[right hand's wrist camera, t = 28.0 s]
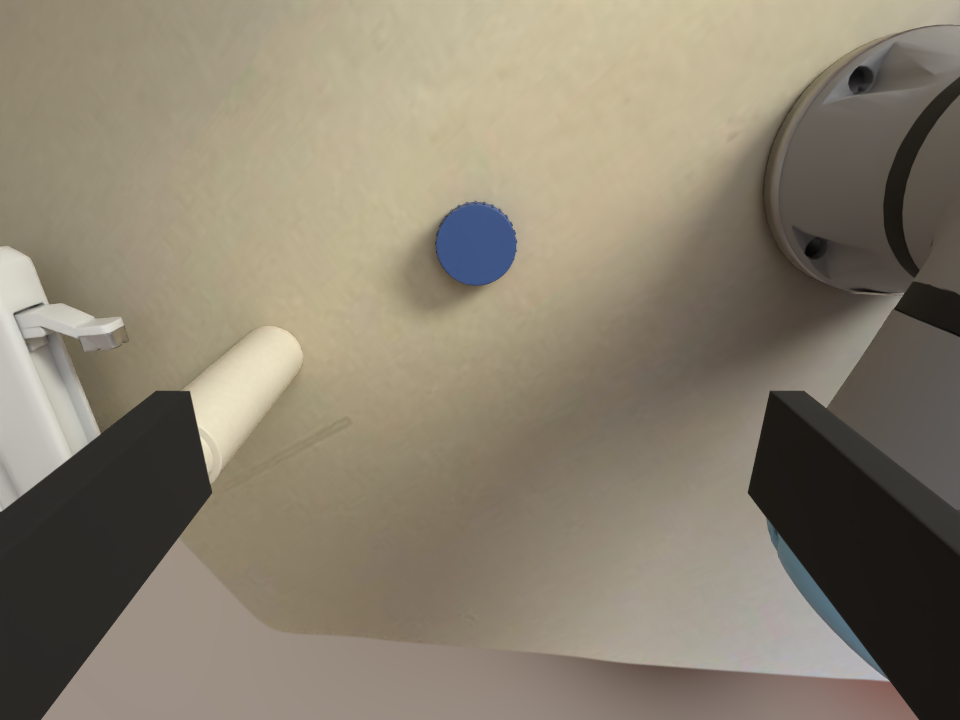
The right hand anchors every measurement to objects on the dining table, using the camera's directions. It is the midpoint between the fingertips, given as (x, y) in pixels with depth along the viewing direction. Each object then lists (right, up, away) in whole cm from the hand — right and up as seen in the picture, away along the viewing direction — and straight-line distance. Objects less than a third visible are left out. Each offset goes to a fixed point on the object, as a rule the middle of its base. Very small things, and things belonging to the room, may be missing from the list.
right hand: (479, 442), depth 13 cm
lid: (0, +9, +23) cm, 24 cm away
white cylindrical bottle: (-15, +2, +27) cm, 31 cm away
